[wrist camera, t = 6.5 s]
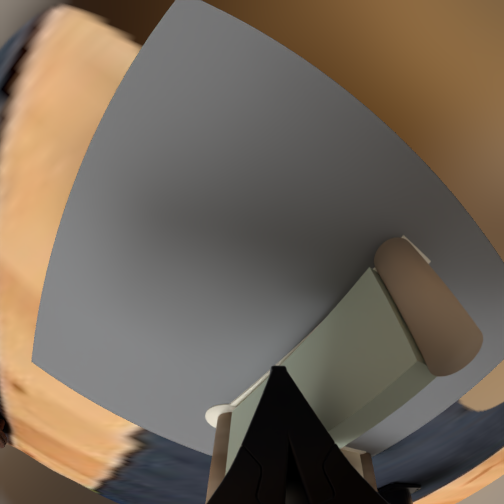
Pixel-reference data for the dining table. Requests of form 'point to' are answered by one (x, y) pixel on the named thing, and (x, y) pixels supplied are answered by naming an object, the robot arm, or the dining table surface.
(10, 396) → the dining table surface
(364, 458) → the fence fixed section
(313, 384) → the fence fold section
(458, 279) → the card
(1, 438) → the brown round-based upright piece
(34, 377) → the dining table surface
